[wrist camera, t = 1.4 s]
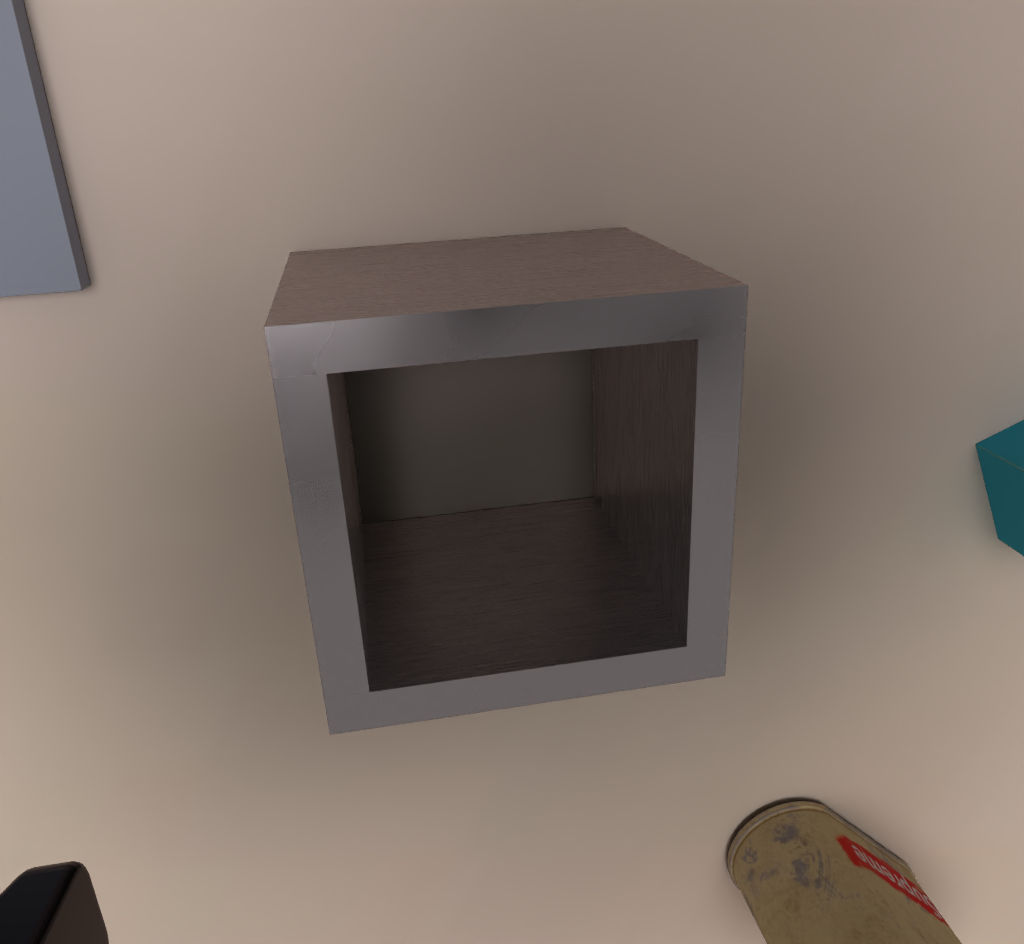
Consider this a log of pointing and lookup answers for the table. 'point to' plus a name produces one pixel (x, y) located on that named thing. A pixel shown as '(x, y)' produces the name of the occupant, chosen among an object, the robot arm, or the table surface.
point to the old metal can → (828, 882)
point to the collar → (528, 528)
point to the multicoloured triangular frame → (1005, 482)
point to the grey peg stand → (31, 175)
